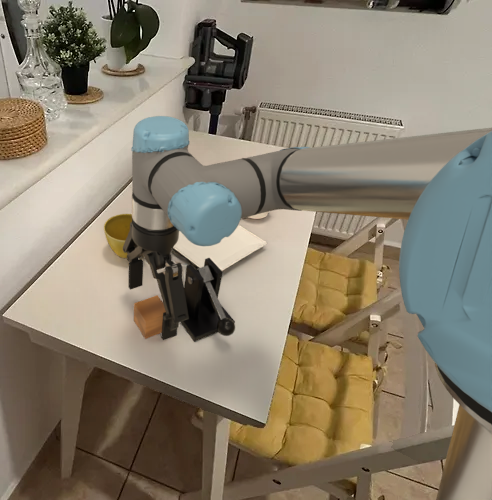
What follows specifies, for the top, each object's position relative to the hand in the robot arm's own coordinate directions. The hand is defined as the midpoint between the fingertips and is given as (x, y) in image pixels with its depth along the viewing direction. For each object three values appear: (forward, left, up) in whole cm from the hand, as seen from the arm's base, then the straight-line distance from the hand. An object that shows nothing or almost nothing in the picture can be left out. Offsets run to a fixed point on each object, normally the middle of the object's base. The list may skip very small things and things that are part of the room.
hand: (151, 310), depth 80 cm
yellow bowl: (+22, -5, -4) cm, 23 cm away
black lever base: (-1, -10, -4) cm, 11 cm away
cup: (+22, -41, -4) cm, 47 cm away
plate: (+16, -24, -4) cm, 29 cm away
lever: (-5, -10, +2) cm, 11 cm away
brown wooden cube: (0, 0, -4) cm, 4 cm away
